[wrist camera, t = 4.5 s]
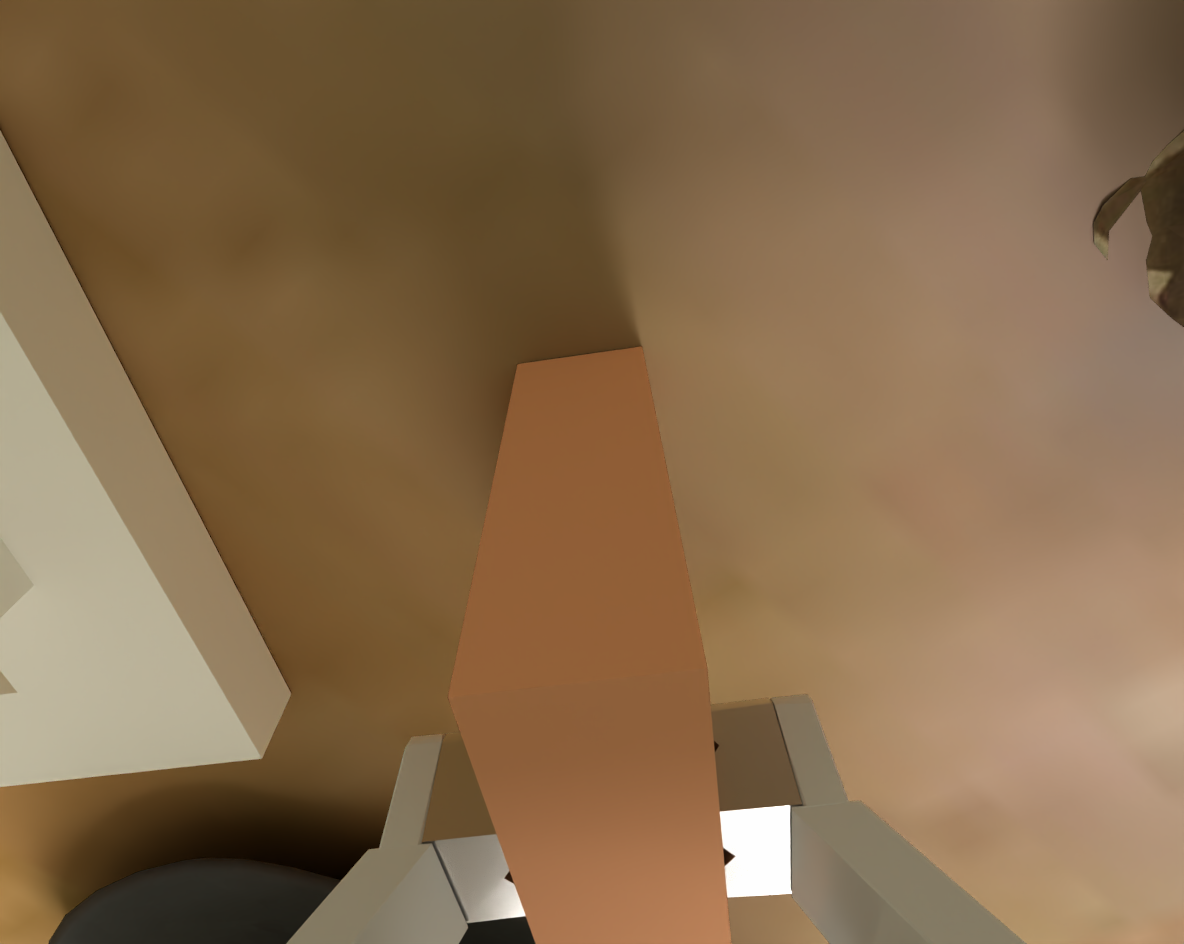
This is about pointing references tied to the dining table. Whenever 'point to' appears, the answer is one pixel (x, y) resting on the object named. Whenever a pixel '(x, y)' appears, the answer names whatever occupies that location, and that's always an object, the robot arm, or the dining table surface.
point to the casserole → (223, 907)
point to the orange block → (592, 669)
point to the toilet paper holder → (103, 553)
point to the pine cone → (1156, 225)
